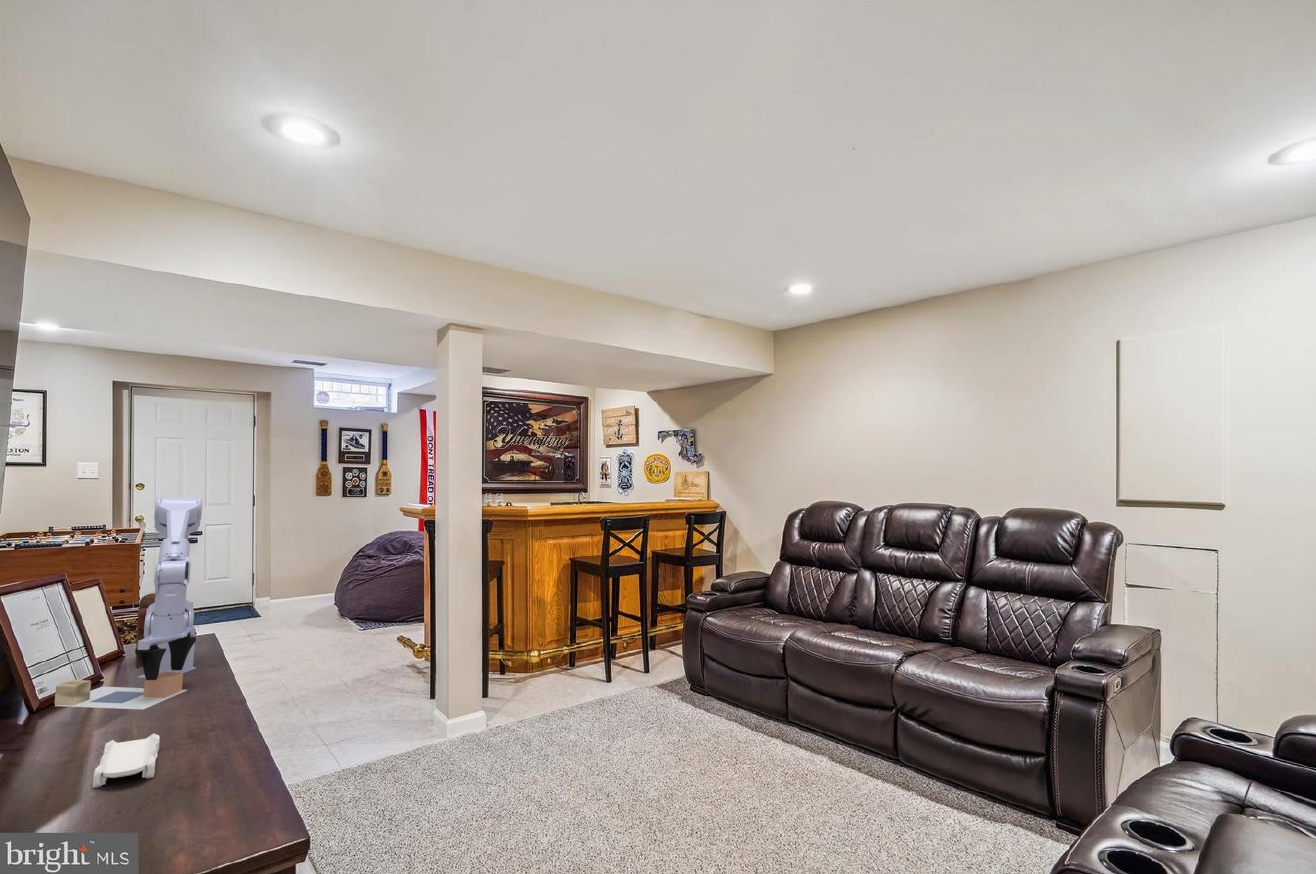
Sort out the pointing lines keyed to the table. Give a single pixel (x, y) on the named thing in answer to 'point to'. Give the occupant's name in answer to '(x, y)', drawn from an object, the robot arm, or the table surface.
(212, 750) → the table surface
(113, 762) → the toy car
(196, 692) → the table surface
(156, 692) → the terracotta block
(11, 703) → the table surface
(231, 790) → the table surface
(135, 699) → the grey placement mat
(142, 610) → the wooden figurine
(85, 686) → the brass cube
